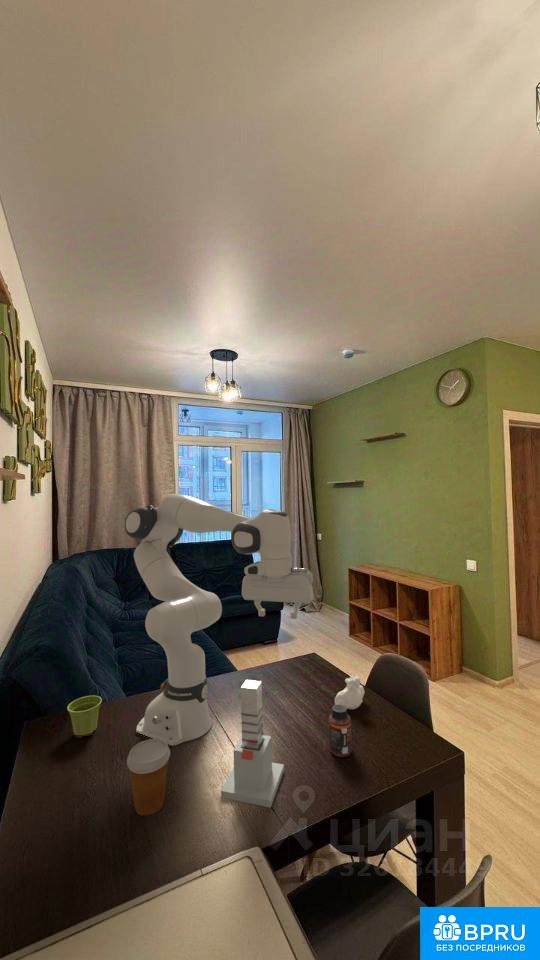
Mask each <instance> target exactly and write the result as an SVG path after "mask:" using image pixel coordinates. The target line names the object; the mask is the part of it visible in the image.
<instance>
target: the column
mask: <svg viewBox="0 0 540 960" xmlns="http://www.w3.org/2000/svg"><path fill="white" fill-rule="evenodd" d="M262 683H263V682H262V680H254V679H246V680H245V681H244V682H243V684H242V685H241V686H240V705H241V706H240V707H241V709H240V710H241V711H240V715H241V737H242V748H244V749H250V750H256V751H259V750H260V748H261V746H262V744H263V735H264V720H263V715H264V714H263V685H262Z"/></svg>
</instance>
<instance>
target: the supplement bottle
mask: <svg viewBox="0 0 540 960" xmlns="http://www.w3.org/2000/svg"><path fill="white" fill-rule="evenodd" d="M328 735H329V737H328V738H329V750H330V752H331V754H332V755H334V756H336V757H339V758H346V757H348V756H350V755H351V753H352V750H353V745H352V720H351V716H350V715H349V714H348V709H347V708H346V707H345V706H343V705H335V704H334V705H333V706H332V707H331V714H329V716H328Z"/></svg>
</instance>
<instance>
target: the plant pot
mask: <svg viewBox="0 0 540 960" xmlns="http://www.w3.org/2000/svg"><path fill="white" fill-rule="evenodd" d="M102 701H103V699H102V697H101V696H98V695H86V696H82V697H79V698H76V699H75V700H73V701H71V702H70V703H69V704H68V705H67V707H66V709H67V712H68V713H69V716H70V719H71V725H72V732H74V733H73V735H74V734H75V735H86V734H89V733H92V732H93V731H94V730H96V731H97V729H96V728H97V727H98V718H99V711H100V707H101V703H102Z"/></svg>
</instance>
